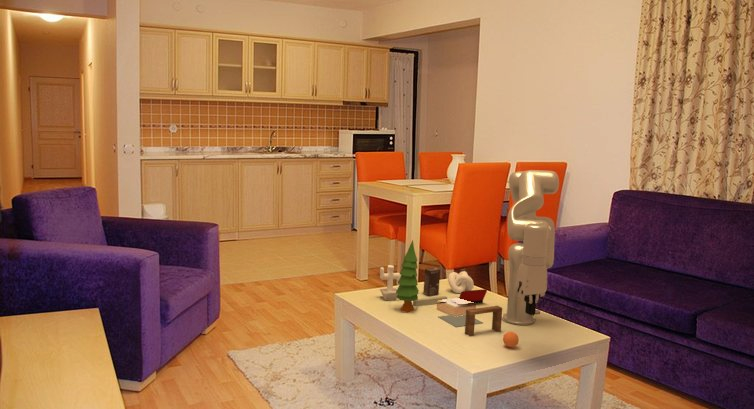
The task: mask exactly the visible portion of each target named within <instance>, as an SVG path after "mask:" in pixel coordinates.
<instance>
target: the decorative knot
mask: <svg viewBox="0 0 754 409" xmlns="http://www.w3.org/2000/svg"><path fill="white" fill-rule="evenodd" d="M447 282H448V285H449V288H450V289H451V291H453V293H455V294H461V292H463V291H471V290H474V289H473V288H474V287H475V286H474V280H473V279H472V277H471V276H470V275H468V272H467V271H465V270H464V271H460V272H459V273H458V272H455V271H453V272H450V273H449V274H448V281H447Z"/></svg>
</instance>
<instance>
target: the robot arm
mask: <svg viewBox="0 0 754 409" xmlns="http://www.w3.org/2000/svg"><path fill="white" fill-rule="evenodd" d="M508 186H509V191H510V195H511V198H512V202H513V205H512V206H511V207H510V209H509V211H508V214H507V235H508V238H509V239H511V240H512V241H516V242H517V241H518V242H517V243H513V244H511V245H510V246H509V247H508V252H507V253H508V255H507V256H508V266H509V267H508V268H509V269H508V270H509V274H508V289H507V303H506V304H507V306H506V313H505V314H502V320H503V321H504V322H506V323H508V324H511V325H517V326H529V325H530V326H531V325H534V323H535V320H536V319H535V318H534V316H535V315H540V314H541V310H540V309H537V308H536V307H537V303H538V302H539V299H540V298H541V297H544V296H545V295H546V292H547V290H548V289H547V288H548V269H550V268H552V267H553V265H554V260H555V237H556V236H555V235H556V234H555V233H556V232H555V231H556V230H555V222H554V220H553V219H552V218H551V217H546V216H537V214H536V213H537V211H538V210H540V209H542V207H543V205H544V203H545V202H544V201H545V200H544V195H554V194H556V193H557V192H558V190H559V187H560V179H559V175H558V173H557V172H556V171H553V170H542V169H538V170H537V169H528V170H524V171H523V170H520V171H514V172H512V173H511V174H510V175H509V179H508Z"/></svg>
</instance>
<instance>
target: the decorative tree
mask: <svg viewBox="0 0 754 409" xmlns="http://www.w3.org/2000/svg"><path fill="white" fill-rule="evenodd" d="M417 262H418V258H417V254H416V251H415V246H414V240H413V239H412V240H411V243H410V245H409V247H408V249H407V251H406V254H405V256H404V257H403V261H402V263H401V265H400V266H401V270H400V272H399V273H400V275H401V277H400V279H399V281H398V284H400V285H398V287H397V288H396V289H397V291H396V293H398V295H397V299H398V300H399V301H404V302H403V304H402V307H401V308H400V311H401V312H404V313H413V312H414V311H415V306H413V301H415V300H418V299H419V296H418V295H419V288H418V279H417V277H418V273H417V269H418V263H417Z"/></svg>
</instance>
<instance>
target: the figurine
mask: <svg viewBox="0 0 754 409" xmlns="http://www.w3.org/2000/svg"><path fill="white" fill-rule="evenodd" d="M394 270H395V266H394V265H392V264H388V265H387V269H386V272H387V273H385V268H384V267H383V266H382V267H381V266H380V268H379V278H380V280H382V281H383V280H384V281H386V288H379V291H380V293H381V295H382V298H383V299H384V300H385V301H396V300H397V299H398V298H397V295H398V293H396V291H397V289H398V288H395V287H394V280H396V285H397V286H399V285H400V284H398V281H399V279H400V277H401V274H400V272H394Z"/></svg>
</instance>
